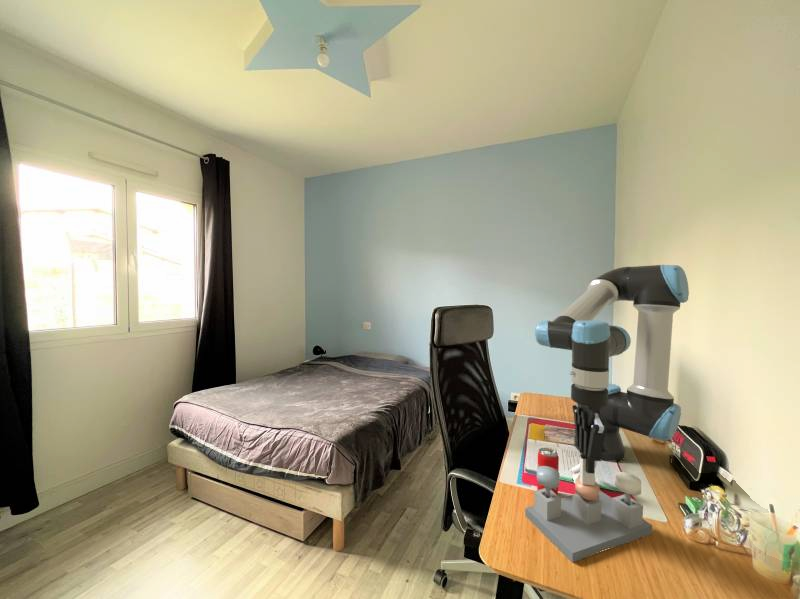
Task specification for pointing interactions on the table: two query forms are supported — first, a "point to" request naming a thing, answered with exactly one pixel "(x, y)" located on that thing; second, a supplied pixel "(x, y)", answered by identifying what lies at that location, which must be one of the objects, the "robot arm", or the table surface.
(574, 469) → the figurine
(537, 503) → the button board
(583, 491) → the terracotta button
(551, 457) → the beverage can
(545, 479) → the blue-grey rounded knob
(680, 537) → the table surface
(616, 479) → the ivory button
